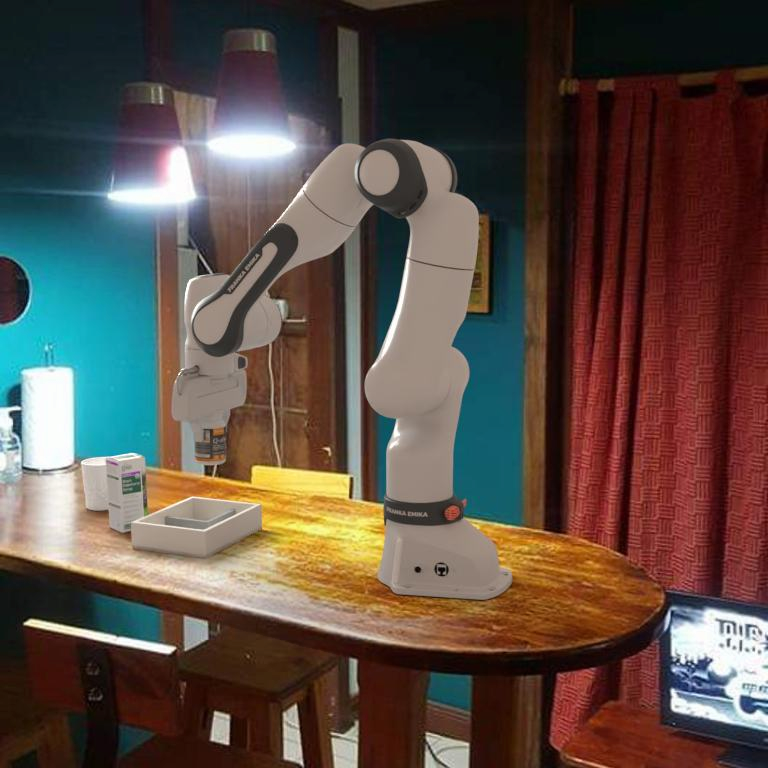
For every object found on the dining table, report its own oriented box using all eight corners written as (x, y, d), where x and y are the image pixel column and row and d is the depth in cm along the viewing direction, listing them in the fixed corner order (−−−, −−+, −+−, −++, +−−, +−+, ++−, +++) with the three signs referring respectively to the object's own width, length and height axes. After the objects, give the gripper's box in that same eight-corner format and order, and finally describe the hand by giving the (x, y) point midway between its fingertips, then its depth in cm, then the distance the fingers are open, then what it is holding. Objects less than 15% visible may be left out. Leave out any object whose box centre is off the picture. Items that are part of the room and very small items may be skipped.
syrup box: (122, 533, 200) (119, 460, 198) (108, 527, 205) (105, 455, 203) (149, 528, 204) (146, 456, 202) (134, 522, 209) (131, 451, 206)
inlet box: (262, 528, 203) (261, 504, 202) (205, 558, 185) (204, 531, 184) (192, 520, 209) (192, 496, 208) (132, 548, 191) (130, 522, 190)
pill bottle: (219, 467, 188) (219, 413, 186) (189, 465, 189) (189, 411, 187) (230, 459, 193) (230, 407, 191) (201, 458, 194) (200, 405, 193)
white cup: (129, 505, 222) (127, 459, 220) (101, 513, 215) (99, 466, 214) (104, 500, 226) (101, 455, 224) (75, 508, 219) (73, 462, 218)
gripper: (193, 371, 177) (193, 450, 179) (252, 357, 196) (252, 429, 198) (161, 368, 180) (163, 446, 182) (223, 355, 198) (224, 426, 201)
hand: (210, 437), depth 190 cm, fingers closed on pill bottle, 6 cm apart
